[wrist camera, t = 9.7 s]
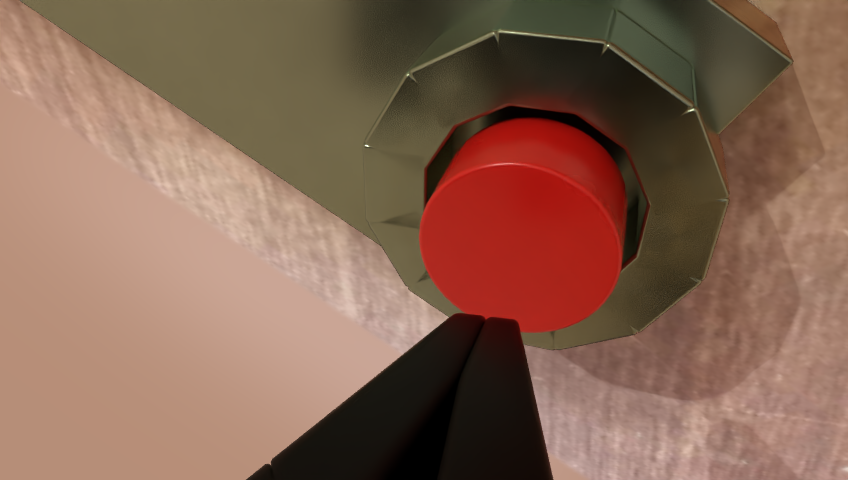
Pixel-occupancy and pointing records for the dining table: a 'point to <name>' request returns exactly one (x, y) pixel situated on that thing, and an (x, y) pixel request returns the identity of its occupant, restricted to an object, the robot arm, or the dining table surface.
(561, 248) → the button
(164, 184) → the dining table surface
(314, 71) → the button block
